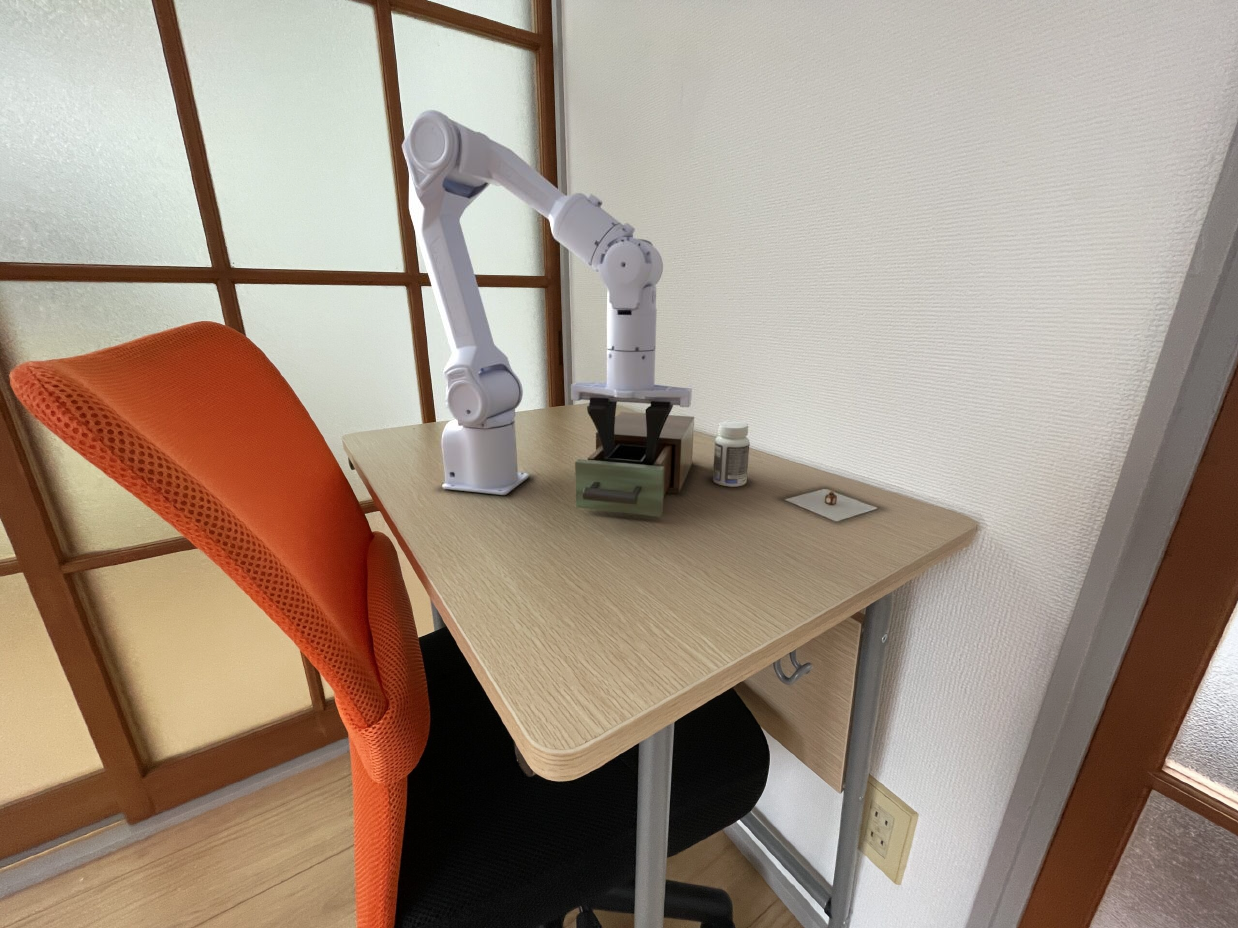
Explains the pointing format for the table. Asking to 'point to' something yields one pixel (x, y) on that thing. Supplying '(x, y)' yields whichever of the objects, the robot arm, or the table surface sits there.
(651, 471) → the drawer
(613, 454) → the tray
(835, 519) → the grey square plate
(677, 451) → the cabinet
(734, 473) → the pill bottle
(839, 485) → the table surface
